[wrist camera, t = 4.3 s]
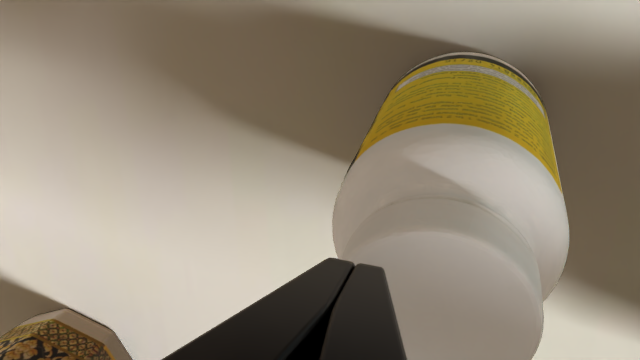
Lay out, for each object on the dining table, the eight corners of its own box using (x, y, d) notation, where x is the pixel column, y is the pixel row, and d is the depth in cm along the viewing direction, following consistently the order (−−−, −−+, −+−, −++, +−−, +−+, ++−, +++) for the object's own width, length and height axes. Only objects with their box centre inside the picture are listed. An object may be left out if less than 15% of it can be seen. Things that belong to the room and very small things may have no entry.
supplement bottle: (365, 64, 19) (263, 204, 11) (539, 33, 17) (584, 173, 9) (395, 207, 21) (329, 419, 13) (553, 193, 19) (600, 430, 11)
